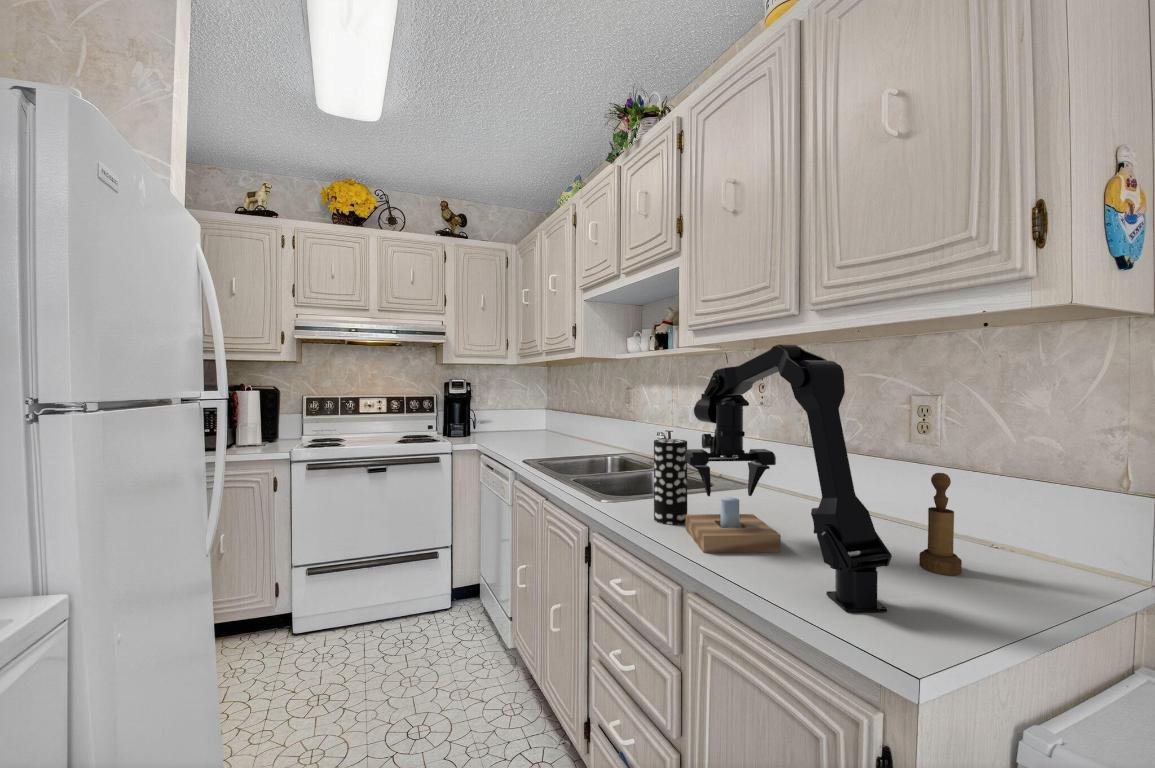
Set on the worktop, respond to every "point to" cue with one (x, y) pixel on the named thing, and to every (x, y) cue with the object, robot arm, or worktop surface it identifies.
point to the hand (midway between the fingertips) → (729, 495)
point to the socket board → (732, 534)
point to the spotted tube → (670, 481)
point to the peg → (729, 512)
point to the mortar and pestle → (940, 533)
